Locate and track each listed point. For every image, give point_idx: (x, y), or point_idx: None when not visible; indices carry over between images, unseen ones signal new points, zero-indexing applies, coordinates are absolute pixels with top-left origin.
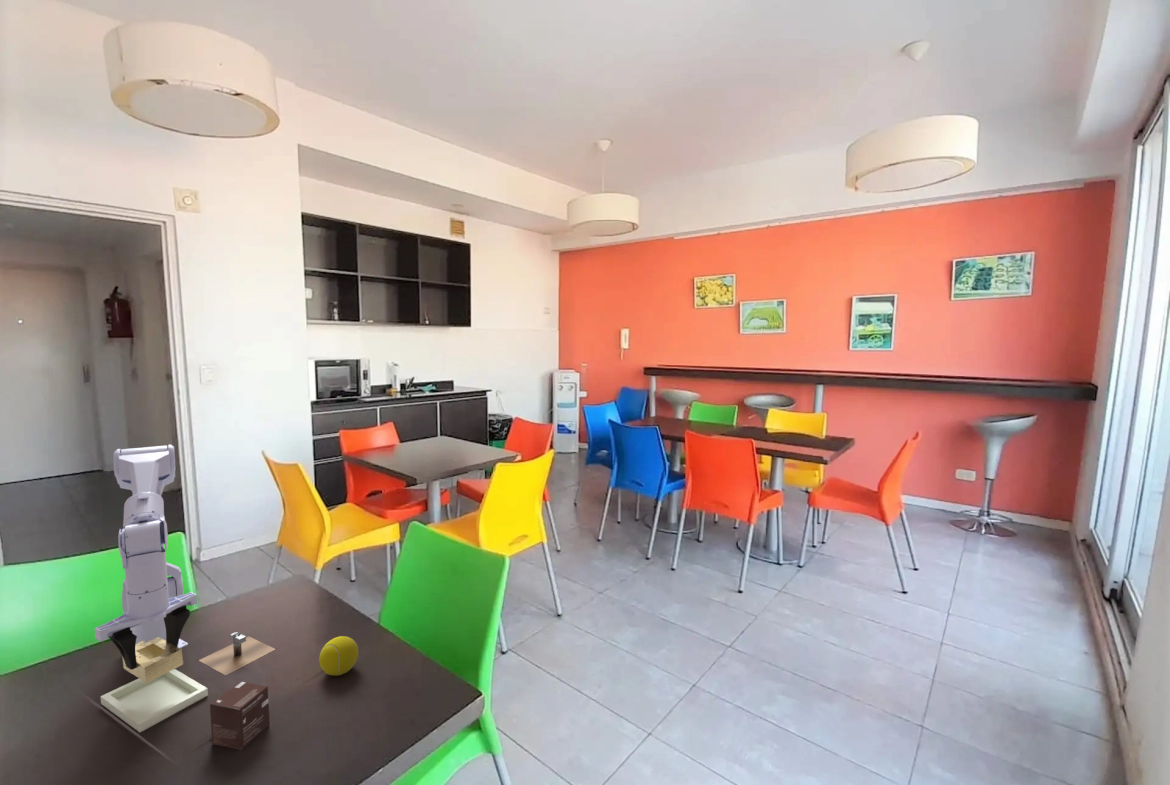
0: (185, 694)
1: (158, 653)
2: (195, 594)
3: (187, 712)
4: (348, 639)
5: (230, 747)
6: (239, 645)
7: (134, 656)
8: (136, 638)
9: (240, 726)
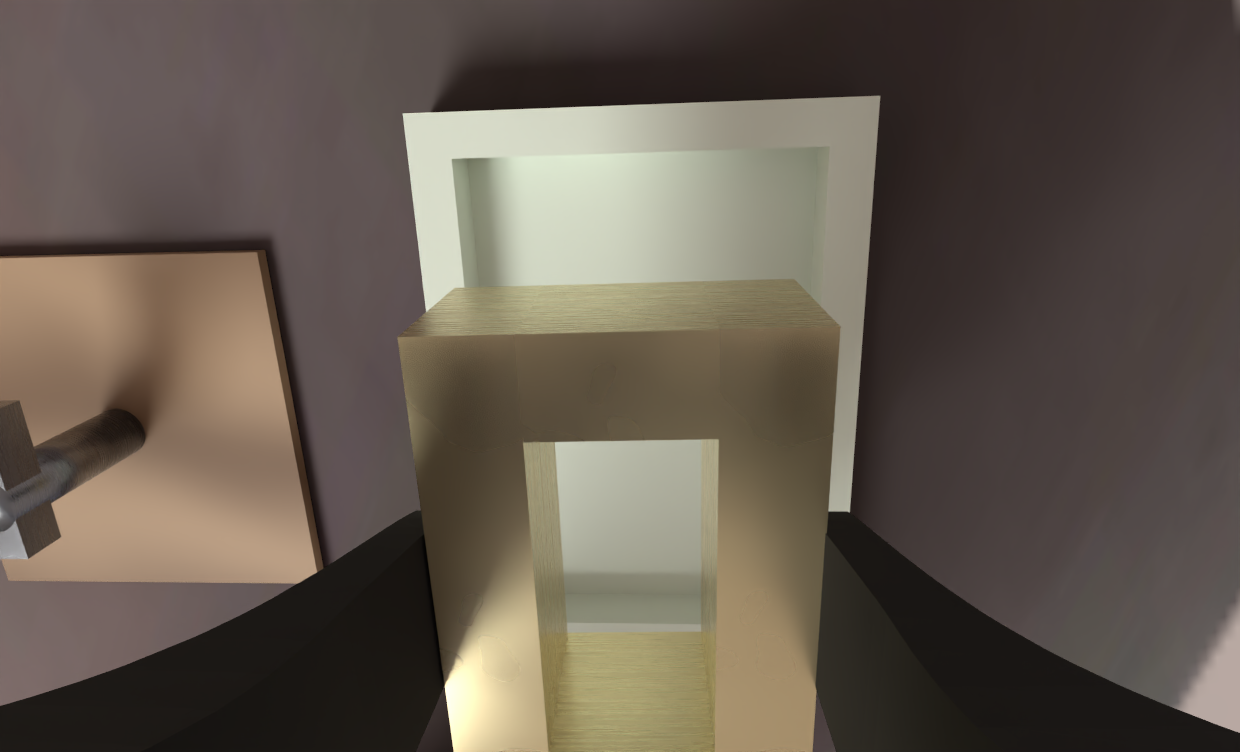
0: (512, 269)
1: (554, 604)
2: None
3: (581, 64)
4: None
5: None
6: (50, 440)
7: (875, 572)
8: (1008, 747)
9: None
